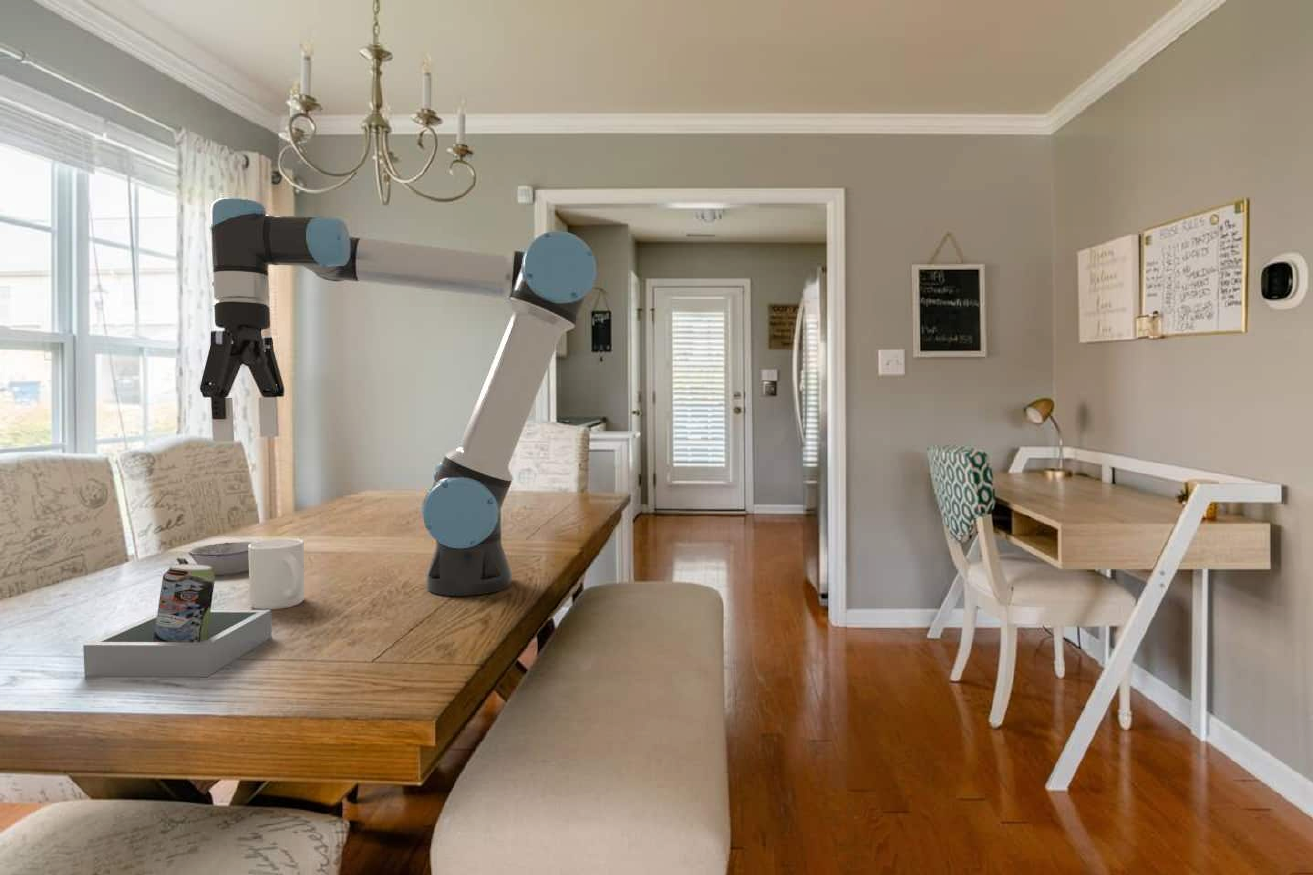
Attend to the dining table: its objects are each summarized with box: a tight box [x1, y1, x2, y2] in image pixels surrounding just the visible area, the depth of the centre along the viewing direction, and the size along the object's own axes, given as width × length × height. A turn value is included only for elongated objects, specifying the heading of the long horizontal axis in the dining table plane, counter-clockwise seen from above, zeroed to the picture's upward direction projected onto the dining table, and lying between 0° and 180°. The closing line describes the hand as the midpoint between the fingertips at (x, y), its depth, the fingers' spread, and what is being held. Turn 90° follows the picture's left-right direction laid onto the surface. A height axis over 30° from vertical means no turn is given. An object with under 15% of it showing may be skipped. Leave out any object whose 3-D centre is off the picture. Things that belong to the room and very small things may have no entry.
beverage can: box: [153, 563, 216, 642], centre depth 100 cm, size 6×7×12 cm
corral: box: [82, 609, 273, 678], centre depth 100 cm, size 15×15×4 cm
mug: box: [248, 538, 306, 611], centre depth 124 cm, size 12×8×10 cm
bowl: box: [188, 541, 255, 576], centre depth 150 cm, size 13×13×5 cm
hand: (247, 439), depth 117 cm, fingers open, 13 cm apart
